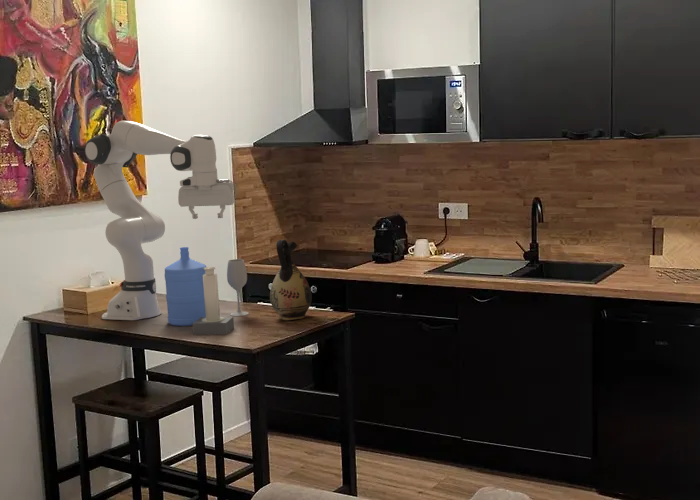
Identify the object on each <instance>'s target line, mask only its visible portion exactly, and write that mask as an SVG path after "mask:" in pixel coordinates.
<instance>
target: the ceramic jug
mask: <svg viewBox="0 0 700 500" xmlns="http://www.w3.org/2000/svg"><path fill="white" fill-rule="evenodd" d="M297 247H298V244H297V243H296V242H295V241H292V240H291V241H289V242H288V241H287V240H286V239H279V240H277V241H276V252H277V258H278V260H279V263H280V268H279V270H278V271H277V272H276V275H275V277H274V279H273V280H272V281H273V282H272V283H271V287H270V291H269V292H270V293H269V301H270V304H271V306H272V308H273V310H275V312H276V313H277V314H278V315H279V317H280V319H281V320H282V321H283V320H284V321H291V320H303V319H305V318H307V316H306V314H307V312H308V310H309V308H310V307H311V305H312V300H313V298H312V297H313V296H312V291H311V287H310V285H309V282H308V280H307V279H306V278H305V276H304V275H303V273H302V272H301V270H300V268H298V267H297V265H296V264H295V263H294V262H293V260H292V252H293V251H294V250H295V249H297Z"/></svg>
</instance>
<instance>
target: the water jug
mask: <svg viewBox="0 0 700 500" xmlns="http://www.w3.org/2000/svg"><path fill="white" fill-rule="evenodd" d="M189 248H190V247H187V246H184V247H183V246H182V247H180V248H179V249H180V254H179V255H180V258H179V259H178V260H176V261H174V262H173V263H171V264H169V265H167V266H166V267H165V268H164V280H165V292H166V293H165V299H166V305H167V306H166V307H167V323H168V324H170V325H171V326H175V327H191V326H192V327H193V324H192V323H194V322H195V321H196V320H198V319H199V318H201V317H206V313H205V300H204V286H203V275H204V274H205V270H204V268H205V267H207V265H206V264H204V263H201V262H199V261H197V260H195V259H192V258H190V251H189Z"/></svg>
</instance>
